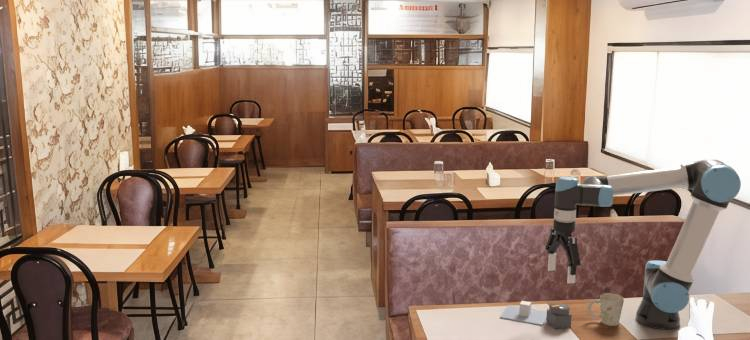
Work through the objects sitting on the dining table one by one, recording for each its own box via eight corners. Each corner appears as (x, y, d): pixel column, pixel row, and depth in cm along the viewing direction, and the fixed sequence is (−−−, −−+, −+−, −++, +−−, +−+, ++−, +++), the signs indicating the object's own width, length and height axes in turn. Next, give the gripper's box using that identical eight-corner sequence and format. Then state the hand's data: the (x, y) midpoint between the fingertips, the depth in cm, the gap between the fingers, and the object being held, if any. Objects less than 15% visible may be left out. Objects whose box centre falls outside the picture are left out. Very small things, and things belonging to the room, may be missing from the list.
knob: (561, 319, 248) (563, 301, 246) (572, 327, 241) (573, 308, 240) (544, 321, 246) (545, 302, 245) (554, 329, 239) (555, 310, 238)
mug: (623, 328, 241) (625, 302, 239) (587, 325, 243) (589, 299, 241) (620, 319, 249) (622, 294, 247) (585, 316, 251) (587, 291, 249)
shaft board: (549, 313, 254) (550, 300, 253) (542, 325, 242) (543, 312, 241) (508, 305, 261) (508, 293, 260) (499, 317, 249) (500, 305, 248)
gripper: (538, 212, 247) (535, 266, 251) (573, 229, 223) (570, 289, 227) (556, 211, 249) (552, 264, 253) (593, 228, 225) (589, 287, 229)
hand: (561, 276), depth 240 cm, fingers open, 13 cm apart
